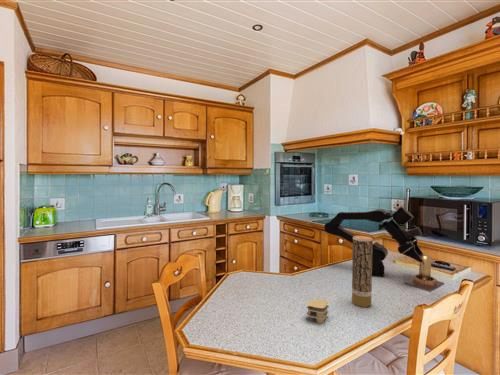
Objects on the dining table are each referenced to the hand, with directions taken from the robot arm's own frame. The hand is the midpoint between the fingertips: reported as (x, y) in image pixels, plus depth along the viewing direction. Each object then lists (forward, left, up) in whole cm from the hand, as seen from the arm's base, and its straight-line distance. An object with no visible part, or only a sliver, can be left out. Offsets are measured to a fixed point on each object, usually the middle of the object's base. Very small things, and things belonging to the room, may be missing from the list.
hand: (422, 258), depth 120 cm
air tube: (+1, 0, -10) cm, 11 cm away
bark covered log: (-28, -28, -11) cm, 42 cm away
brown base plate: (+1, 0, -11) cm, 11 cm away
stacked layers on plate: (-43, -44, -12) cm, 63 cm away
